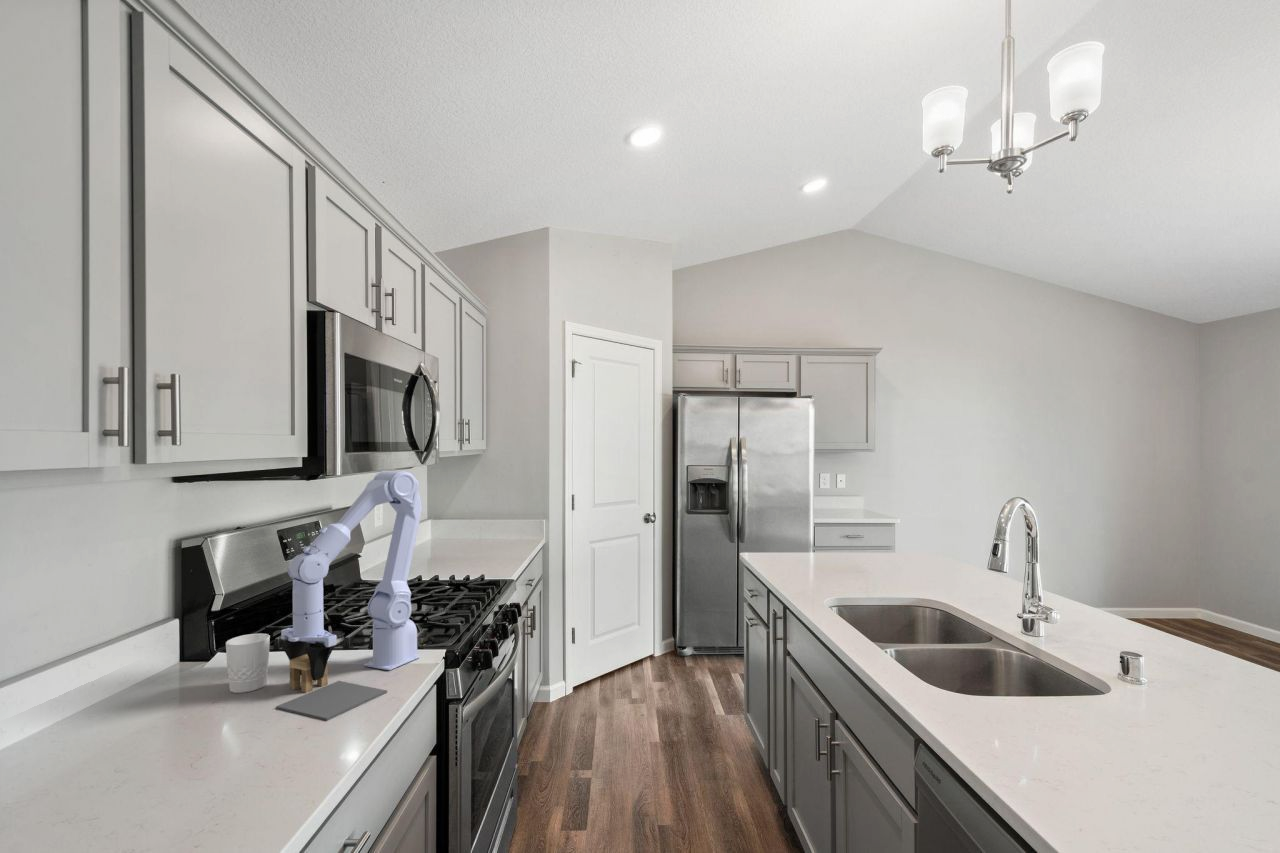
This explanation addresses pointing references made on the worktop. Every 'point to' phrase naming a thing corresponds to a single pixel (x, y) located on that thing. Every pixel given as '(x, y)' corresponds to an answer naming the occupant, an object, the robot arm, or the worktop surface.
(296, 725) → the worktop surface
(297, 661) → the tan notched block
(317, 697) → the mat
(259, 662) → the white cup
